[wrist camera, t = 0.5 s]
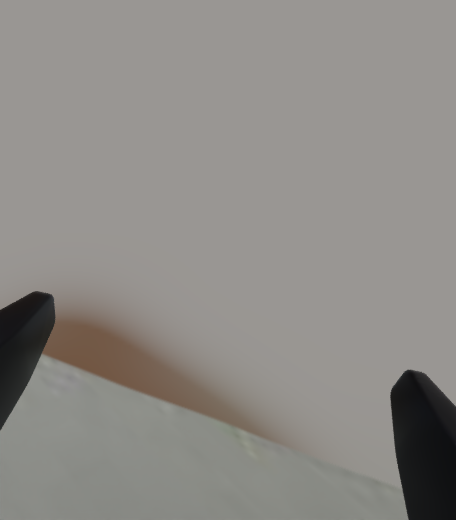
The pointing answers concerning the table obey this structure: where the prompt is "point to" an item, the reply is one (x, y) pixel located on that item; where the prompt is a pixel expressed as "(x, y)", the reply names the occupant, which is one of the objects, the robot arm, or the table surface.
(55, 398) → the table surface
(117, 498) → the table surface
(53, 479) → the table surface
